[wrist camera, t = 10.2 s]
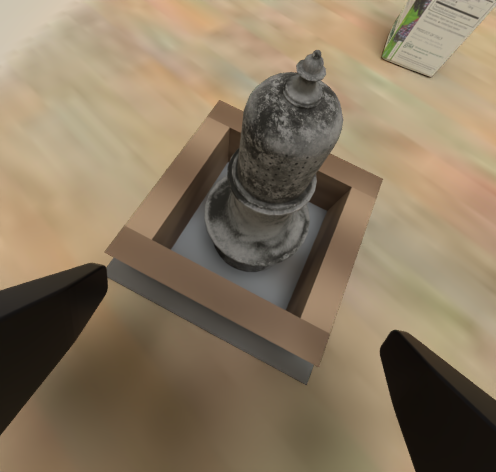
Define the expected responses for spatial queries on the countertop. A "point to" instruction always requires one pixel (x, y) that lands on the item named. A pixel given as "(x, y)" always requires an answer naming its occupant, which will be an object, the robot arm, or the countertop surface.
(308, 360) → the holder
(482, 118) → the countertop surface
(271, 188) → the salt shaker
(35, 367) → the robot arm
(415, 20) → the syrup box
